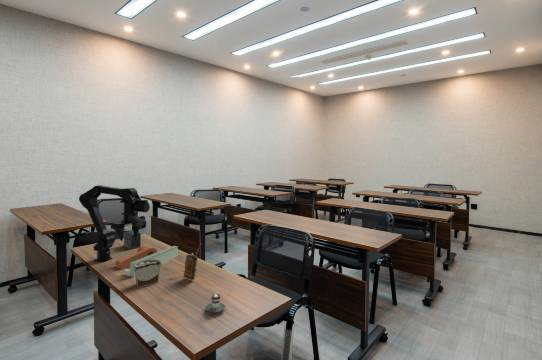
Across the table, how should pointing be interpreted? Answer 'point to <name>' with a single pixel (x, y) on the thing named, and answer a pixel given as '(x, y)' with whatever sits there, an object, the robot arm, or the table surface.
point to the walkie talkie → (190, 266)
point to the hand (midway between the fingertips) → (128, 238)
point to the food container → (147, 272)
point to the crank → (135, 256)
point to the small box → (132, 240)
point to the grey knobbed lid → (215, 304)
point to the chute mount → (155, 258)
